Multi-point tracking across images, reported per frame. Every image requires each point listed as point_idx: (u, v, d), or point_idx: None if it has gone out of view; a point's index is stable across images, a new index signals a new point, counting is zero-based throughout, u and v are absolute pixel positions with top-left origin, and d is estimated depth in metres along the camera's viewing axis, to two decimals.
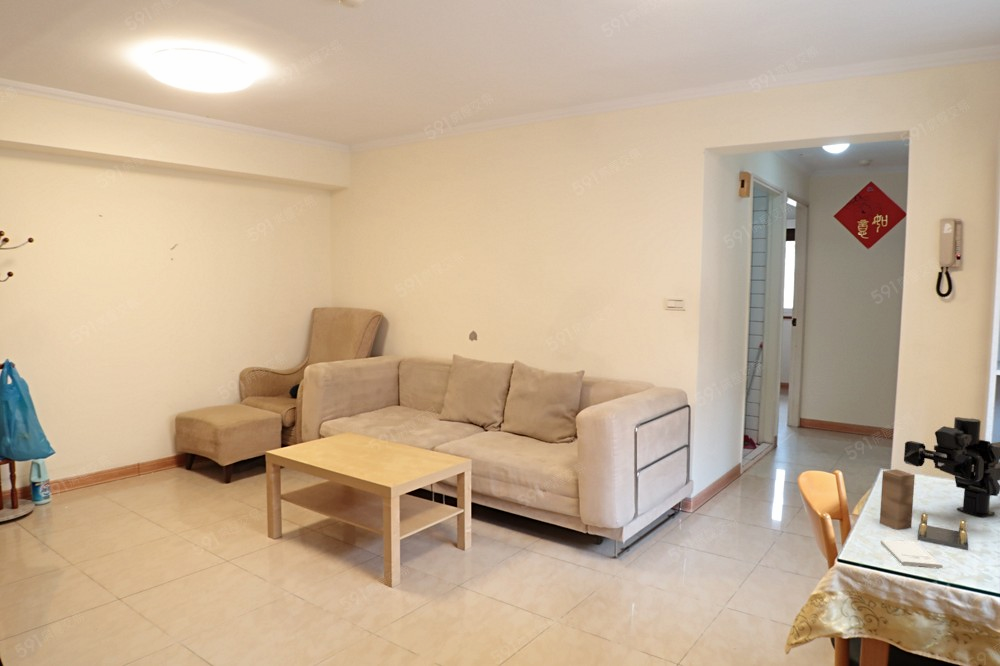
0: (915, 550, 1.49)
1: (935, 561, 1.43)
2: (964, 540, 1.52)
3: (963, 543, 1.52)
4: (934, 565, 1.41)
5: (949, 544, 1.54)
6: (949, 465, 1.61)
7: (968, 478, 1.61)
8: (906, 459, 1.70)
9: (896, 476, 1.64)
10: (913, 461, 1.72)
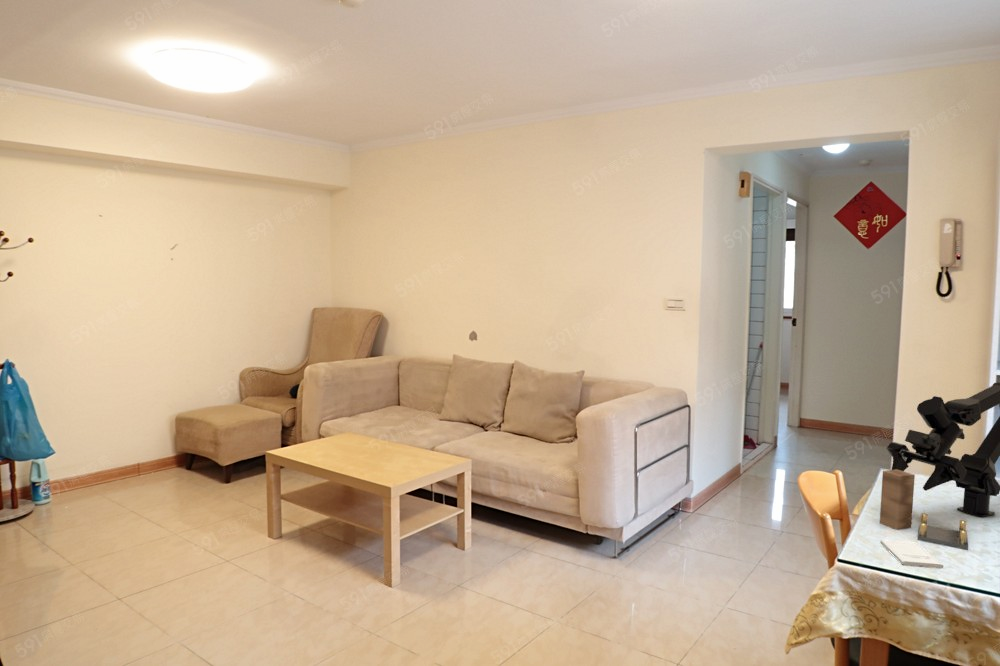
0: (915, 550, 1.49)
1: (935, 561, 1.43)
2: (964, 540, 1.52)
3: (963, 543, 1.52)
4: (935, 565, 1.42)
5: (949, 544, 1.54)
6: (930, 482, 1.62)
7: (954, 480, 1.62)
8: None
9: (896, 476, 1.64)
10: (901, 469, 1.73)
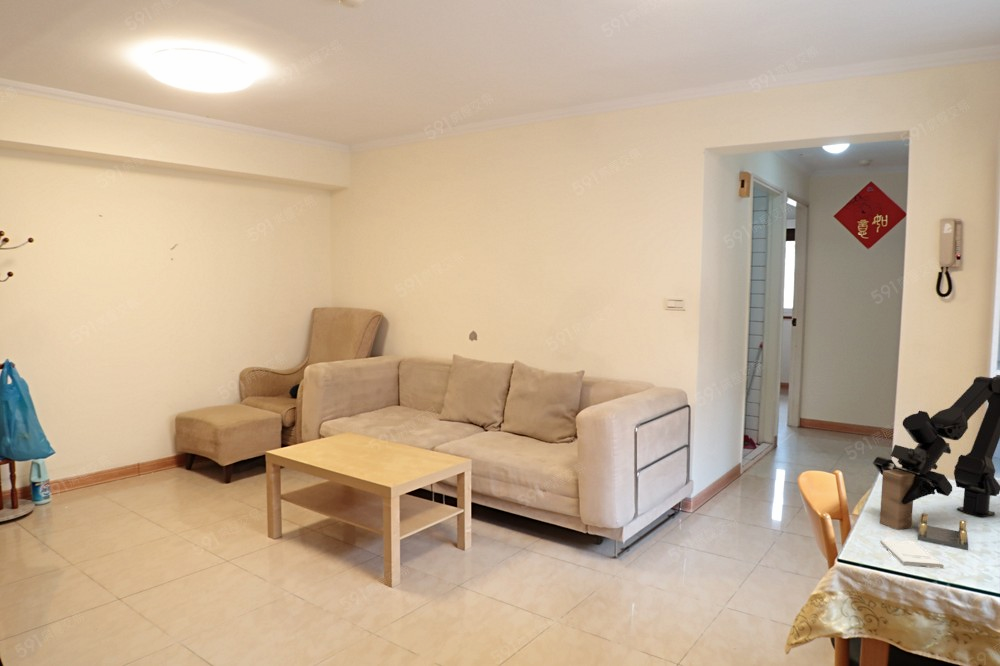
0: (915, 549, 1.49)
1: (936, 560, 1.43)
2: (964, 540, 1.52)
3: (963, 543, 1.52)
4: (935, 565, 1.42)
5: (949, 544, 1.54)
6: (909, 495, 1.63)
7: (933, 493, 1.62)
8: None
9: (896, 476, 1.63)
10: None
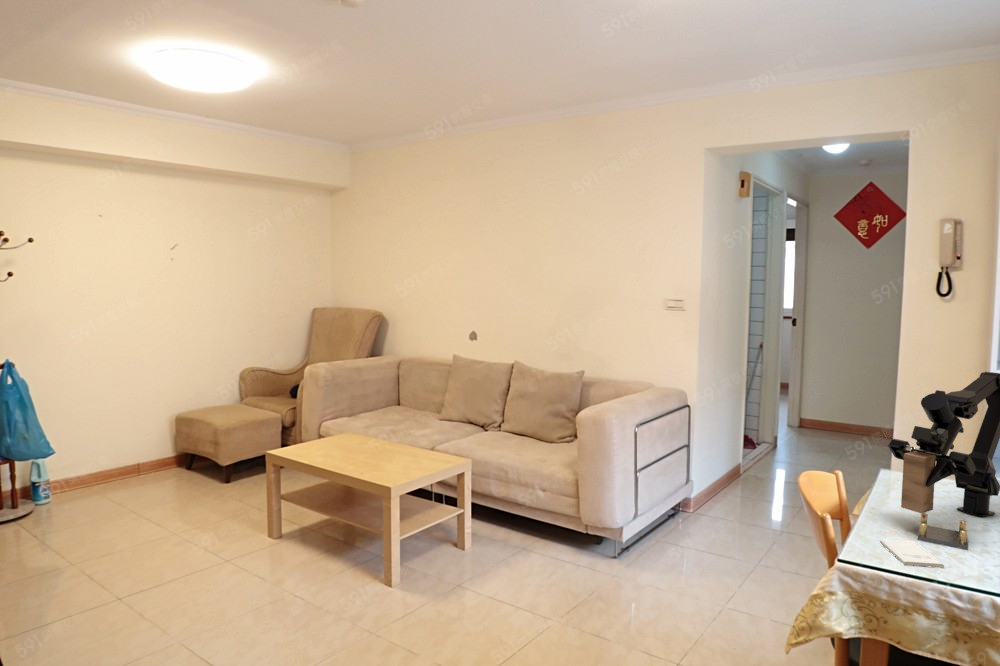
0: (915, 549, 1.49)
1: (936, 560, 1.43)
2: (964, 540, 1.52)
3: (963, 543, 1.52)
4: (936, 564, 1.42)
5: (949, 544, 1.54)
6: (933, 477, 1.58)
7: (954, 474, 1.59)
8: None
9: (920, 458, 1.59)
10: None
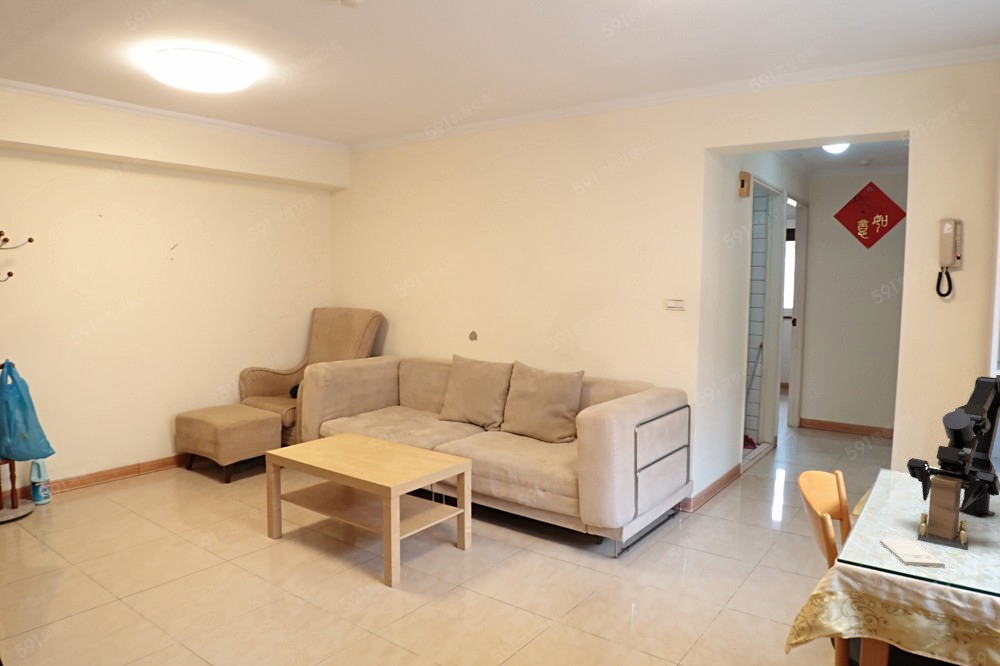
0: (915, 549, 1.49)
1: (937, 560, 1.43)
2: (964, 540, 1.52)
3: (963, 543, 1.52)
4: (936, 564, 1.42)
5: (949, 544, 1.54)
6: (968, 500, 1.54)
7: (985, 495, 1.55)
8: (925, 498, 1.60)
9: (949, 483, 1.55)
10: (929, 488, 1.62)
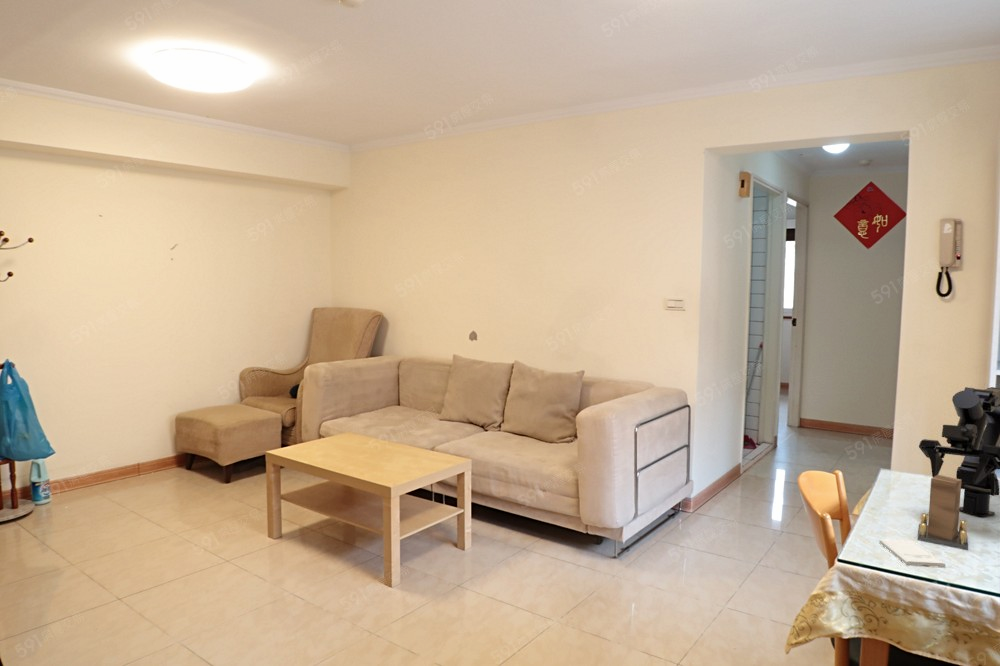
0: (915, 549, 1.49)
1: (937, 560, 1.43)
2: (964, 540, 1.52)
3: (963, 543, 1.52)
4: (937, 564, 1.42)
5: (949, 544, 1.54)
6: (979, 475, 1.59)
7: (999, 468, 1.60)
8: None
9: (949, 483, 1.55)
10: (939, 466, 1.69)
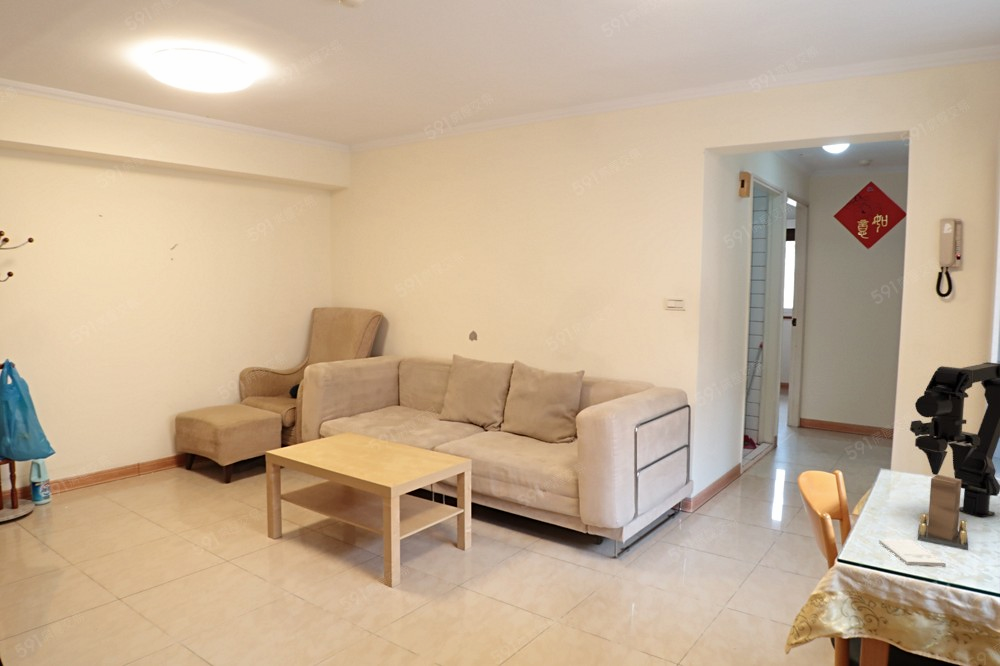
0: (915, 548, 1.49)
1: (938, 559, 1.44)
2: (964, 540, 1.52)
3: (963, 543, 1.52)
4: (938, 563, 1.42)
5: (949, 544, 1.54)
6: (930, 466, 1.68)
7: (939, 453, 1.64)
8: (956, 468, 1.72)
9: (949, 483, 1.55)
10: (962, 456, 1.71)
